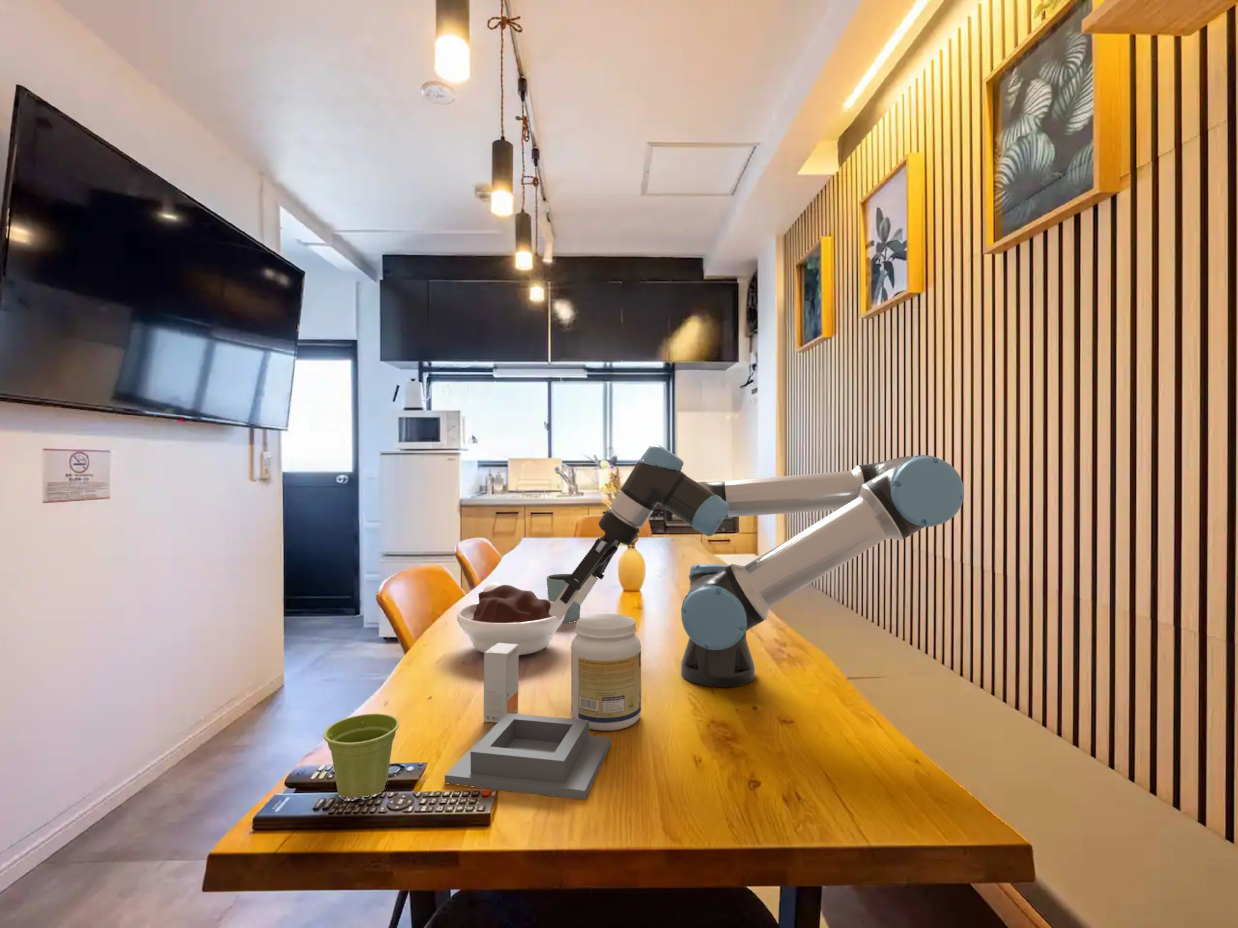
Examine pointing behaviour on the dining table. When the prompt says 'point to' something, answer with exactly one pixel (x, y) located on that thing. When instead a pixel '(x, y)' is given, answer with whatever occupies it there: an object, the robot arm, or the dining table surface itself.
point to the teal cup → (554, 589)
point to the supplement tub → (606, 672)
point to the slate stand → (533, 757)
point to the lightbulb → (491, 586)
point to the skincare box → (500, 681)
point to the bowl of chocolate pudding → (509, 620)
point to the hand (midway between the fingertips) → (565, 607)
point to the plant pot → (361, 752)
